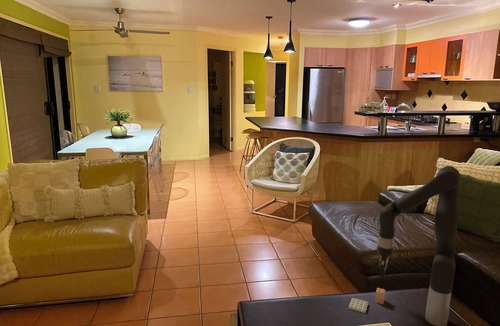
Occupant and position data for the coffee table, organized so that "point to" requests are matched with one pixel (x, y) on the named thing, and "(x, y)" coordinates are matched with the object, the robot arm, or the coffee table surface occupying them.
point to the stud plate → (358, 305)
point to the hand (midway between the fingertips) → (382, 273)
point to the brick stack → (380, 296)
